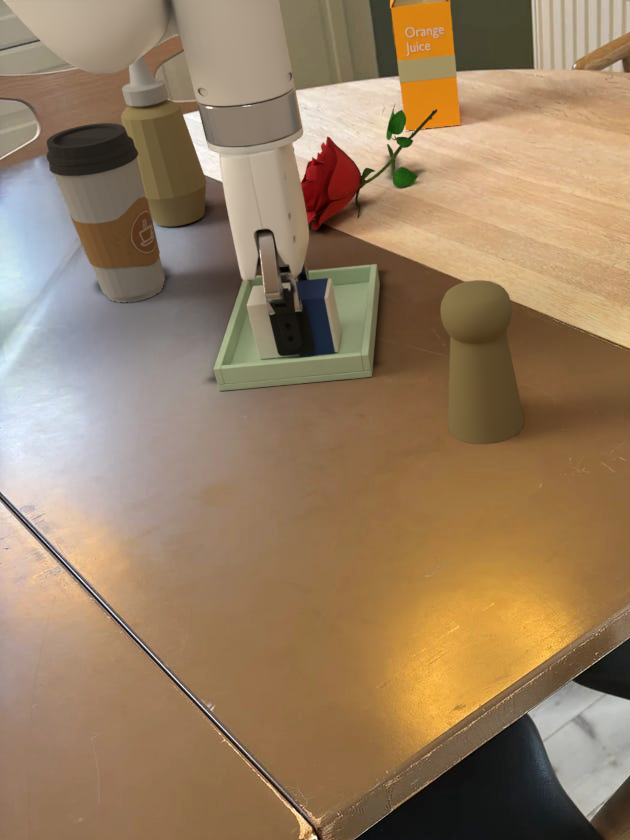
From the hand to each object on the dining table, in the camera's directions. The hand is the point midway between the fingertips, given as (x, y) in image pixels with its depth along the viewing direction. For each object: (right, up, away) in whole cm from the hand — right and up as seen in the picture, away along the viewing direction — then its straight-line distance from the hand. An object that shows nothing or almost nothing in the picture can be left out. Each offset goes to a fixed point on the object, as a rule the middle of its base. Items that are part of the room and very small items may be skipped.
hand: (299, 338), depth 90 cm
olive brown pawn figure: (+17, -10, -11) cm, 22 cm away
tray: (0, +1, +4) cm, 4 cm away
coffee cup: (-20, +9, +15) cm, 26 cm away
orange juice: (+9, +45, +51) cm, 69 cm away
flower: (+4, +27, +31) cm, 41 cm away
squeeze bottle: (-19, +23, +29) cm, 42 cm away
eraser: (0, -1, 0) cm, 1 cm away
